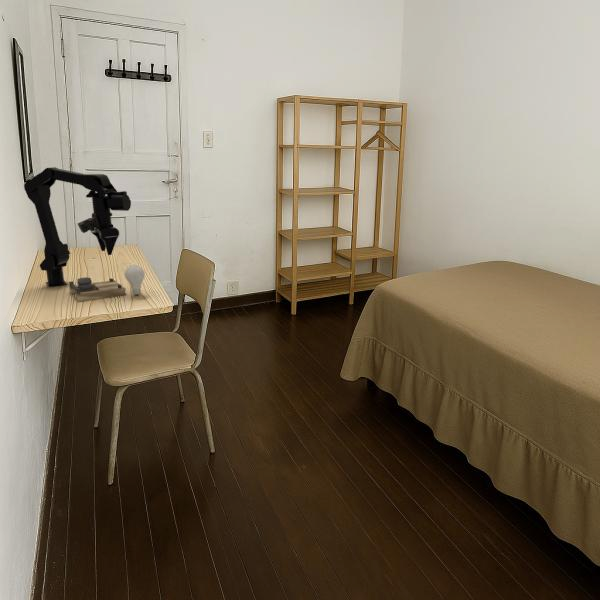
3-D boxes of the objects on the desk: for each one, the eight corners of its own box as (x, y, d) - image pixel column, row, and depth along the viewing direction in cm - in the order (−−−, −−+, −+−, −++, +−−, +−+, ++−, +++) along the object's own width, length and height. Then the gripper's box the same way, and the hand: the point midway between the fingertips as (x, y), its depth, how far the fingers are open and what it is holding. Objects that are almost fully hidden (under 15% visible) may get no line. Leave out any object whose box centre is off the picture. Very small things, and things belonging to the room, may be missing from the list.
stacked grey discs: (77, 294, 188) (75, 278, 186) (91, 292, 190) (89, 276, 188) (80, 297, 184) (78, 281, 182) (94, 295, 186) (92, 279, 185)
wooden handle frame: (70, 292, 190) (68, 281, 189) (115, 286, 199) (114, 275, 198) (78, 301, 179) (76, 289, 178) (125, 294, 188) (124, 283, 186)
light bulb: (123, 295, 187) (120, 264, 184) (140, 291, 191) (138, 262, 188) (132, 299, 182) (129, 267, 179) (150, 295, 187) (147, 264, 184)
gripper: (72, 209, 193) (77, 251, 197) (83, 214, 178) (89, 259, 182) (104, 207, 199) (108, 248, 203) (117, 212, 184) (121, 256, 188)
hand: (106, 252), depth 194 cm, fingers open, 9 cm apart
